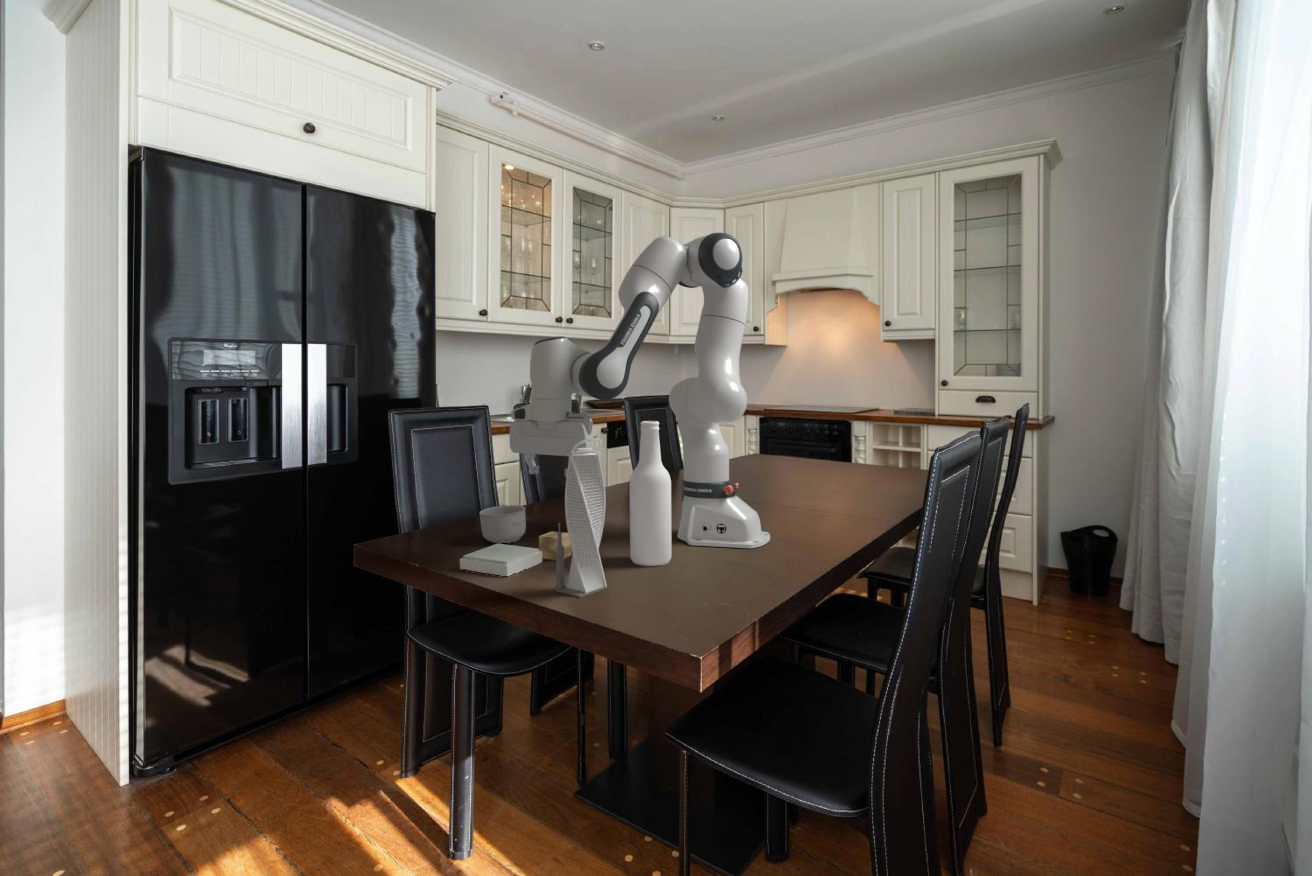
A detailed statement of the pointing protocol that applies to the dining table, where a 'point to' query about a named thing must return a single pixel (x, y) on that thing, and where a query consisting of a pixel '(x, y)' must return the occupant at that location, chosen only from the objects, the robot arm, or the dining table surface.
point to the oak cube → (553, 545)
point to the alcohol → (650, 503)
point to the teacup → (503, 523)
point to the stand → (501, 559)
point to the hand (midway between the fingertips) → (551, 475)
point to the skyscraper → (583, 523)
